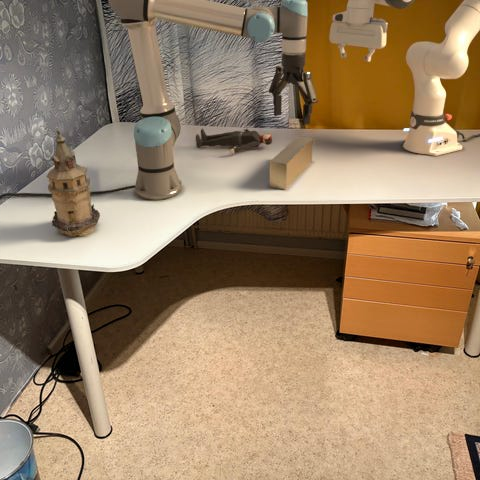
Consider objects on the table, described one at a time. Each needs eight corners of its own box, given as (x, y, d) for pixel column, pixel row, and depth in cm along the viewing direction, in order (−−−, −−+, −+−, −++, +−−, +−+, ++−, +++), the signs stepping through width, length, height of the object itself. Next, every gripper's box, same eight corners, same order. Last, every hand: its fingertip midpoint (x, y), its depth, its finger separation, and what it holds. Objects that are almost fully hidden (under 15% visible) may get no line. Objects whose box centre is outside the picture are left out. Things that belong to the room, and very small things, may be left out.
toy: (206, 122, 226) (276, 122, 220) (207, 136, 229) (277, 136, 223) (189, 142, 204) (266, 142, 198) (190, 157, 207) (267, 158, 201)
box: (285, 189, 178) (286, 163, 173) (269, 187, 180) (269, 161, 175) (311, 162, 199) (313, 138, 195) (296, 159, 202) (297, 136, 197)
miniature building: (80, 214, 164) (63, 117, 149) (111, 225, 157) (96, 125, 142) (44, 231, 154) (22, 130, 140) (75, 244, 147) (55, 139, 133)
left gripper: (331, 56, 161) (327, 125, 172) (275, 46, 178) (274, 109, 188) (314, 60, 157) (310, 130, 167) (258, 49, 174) (258, 113, 184)
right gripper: (392, 18, 175) (387, 61, 181) (338, 13, 186) (335, 54, 193) (383, 20, 171) (378, 64, 177) (328, 15, 182) (325, 57, 189)
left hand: (291, 119), depth 178 cm, fingers open, 13 cm apart
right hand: (355, 59), depth 185 cm, fingers open, 8 cm apart
